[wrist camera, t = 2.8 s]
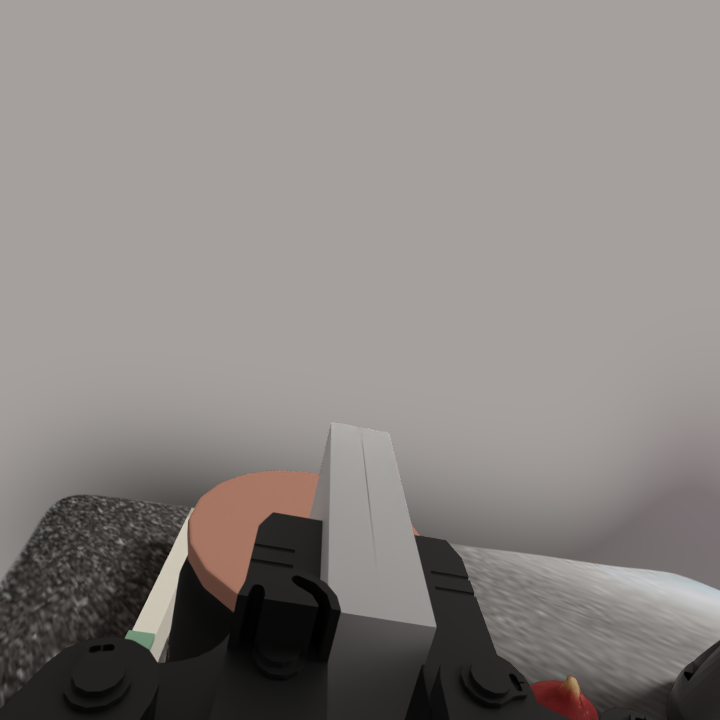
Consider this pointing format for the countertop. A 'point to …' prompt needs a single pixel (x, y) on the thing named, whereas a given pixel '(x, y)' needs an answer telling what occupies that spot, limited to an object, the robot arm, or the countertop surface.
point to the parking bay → (161, 600)
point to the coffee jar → (228, 553)
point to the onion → (564, 699)
